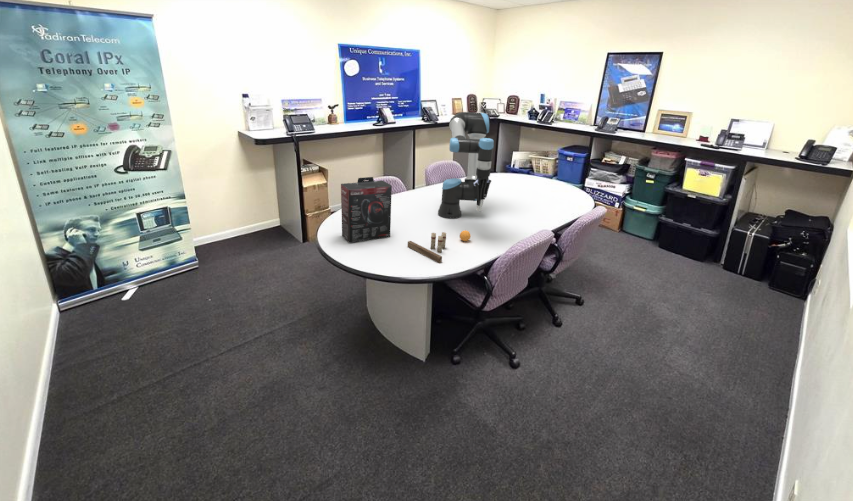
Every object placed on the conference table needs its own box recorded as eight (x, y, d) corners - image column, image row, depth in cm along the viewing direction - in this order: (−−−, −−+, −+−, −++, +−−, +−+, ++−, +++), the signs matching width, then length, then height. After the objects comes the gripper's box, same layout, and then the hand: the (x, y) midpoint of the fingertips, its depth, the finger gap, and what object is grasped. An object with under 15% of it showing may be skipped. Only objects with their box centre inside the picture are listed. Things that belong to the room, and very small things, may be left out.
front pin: (442, 246, 221) (444, 231, 218) (446, 248, 220) (447, 233, 216) (439, 247, 220) (440, 232, 216) (442, 249, 218) (443, 234, 215)
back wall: (410, 245, 220) (410, 240, 219) (441, 261, 204) (442, 256, 203) (407, 246, 219) (407, 241, 217) (438, 263, 203) (439, 257, 201)
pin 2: (439, 250, 216) (440, 235, 213) (442, 252, 215) (443, 236, 211) (435, 251, 215) (436, 236, 211) (439, 253, 213) (440, 238, 210)
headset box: (382, 229, 239) (382, 173, 226) (391, 237, 230) (392, 178, 216) (341, 235, 227) (339, 176, 214) (349, 244, 218) (347, 182, 204)
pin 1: (432, 247, 220) (433, 232, 216) (436, 248, 218) (437, 233, 215) (429, 248, 218) (430, 233, 215) (432, 249, 217) (433, 234, 213)
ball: (464, 237, 234) (465, 228, 232) (472, 241, 230) (473, 231, 228) (457, 240, 230) (458, 230, 228) (464, 243, 226) (465, 233, 224)
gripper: (480, 171, 213) (476, 214, 223) (496, 168, 222) (491, 210, 231) (470, 168, 218) (466, 210, 228) (486, 165, 227) (481, 206, 236)
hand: (479, 210), depth 230 cm, fingers closed
